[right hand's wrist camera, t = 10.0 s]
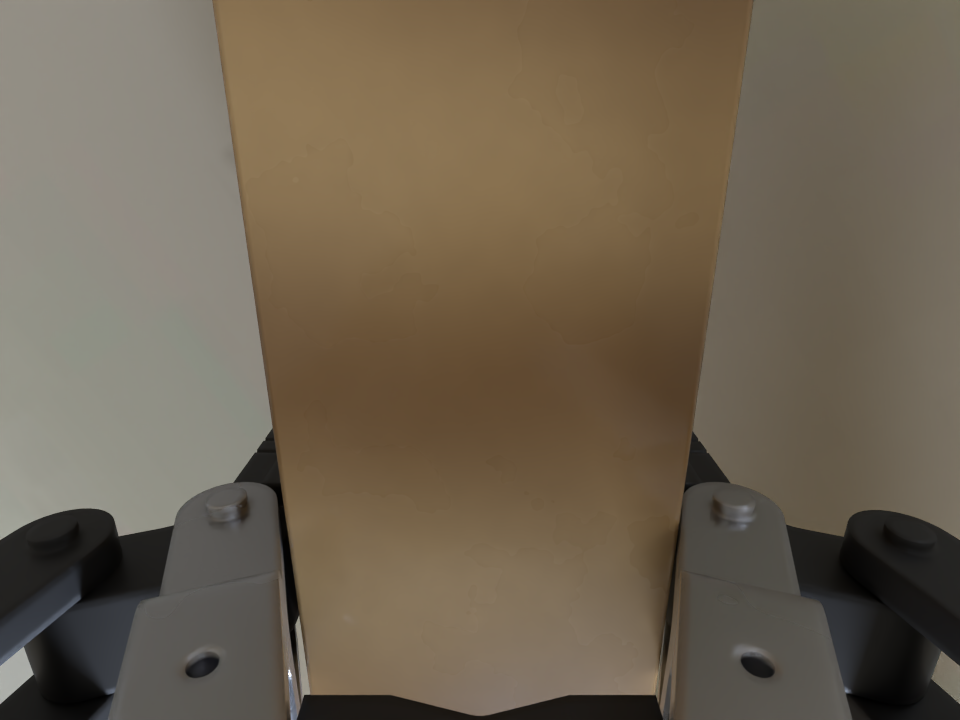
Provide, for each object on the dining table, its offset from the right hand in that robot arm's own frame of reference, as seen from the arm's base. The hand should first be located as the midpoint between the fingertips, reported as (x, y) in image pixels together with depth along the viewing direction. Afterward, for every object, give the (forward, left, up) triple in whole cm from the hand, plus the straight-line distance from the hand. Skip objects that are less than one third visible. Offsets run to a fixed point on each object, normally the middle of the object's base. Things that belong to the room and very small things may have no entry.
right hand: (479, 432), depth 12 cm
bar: (+21, +15, -4) cm, 26 cm away
